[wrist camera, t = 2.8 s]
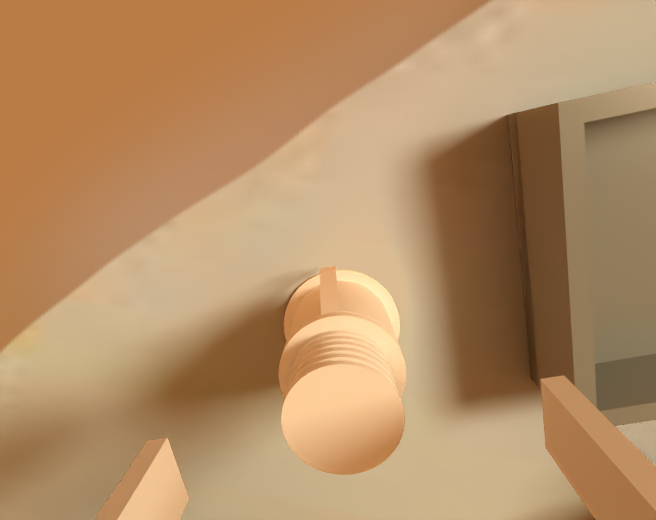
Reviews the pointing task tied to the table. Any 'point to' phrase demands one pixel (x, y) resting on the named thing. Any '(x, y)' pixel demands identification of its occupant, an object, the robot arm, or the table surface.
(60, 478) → the table surface
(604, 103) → the tote
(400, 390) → the downlight
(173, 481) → the robot arm
